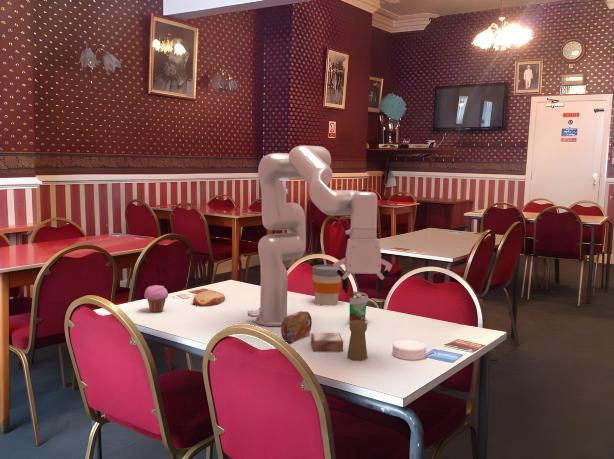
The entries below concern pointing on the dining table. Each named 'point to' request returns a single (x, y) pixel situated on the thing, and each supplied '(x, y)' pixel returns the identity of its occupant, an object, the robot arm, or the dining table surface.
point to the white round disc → (409, 350)
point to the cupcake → (156, 297)
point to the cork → (357, 341)
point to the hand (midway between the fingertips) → (362, 292)
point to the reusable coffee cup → (326, 284)
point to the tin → (296, 326)
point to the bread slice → (208, 298)
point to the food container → (358, 306)
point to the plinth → (326, 342)
